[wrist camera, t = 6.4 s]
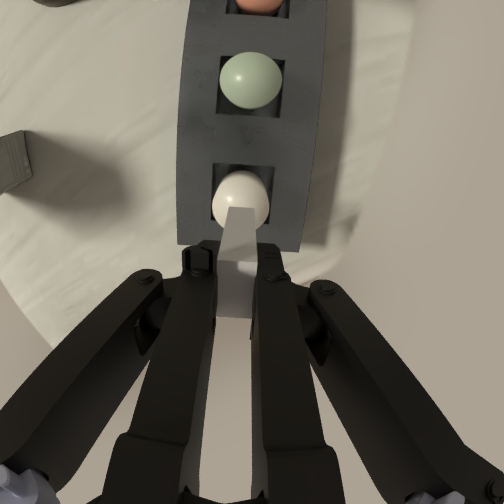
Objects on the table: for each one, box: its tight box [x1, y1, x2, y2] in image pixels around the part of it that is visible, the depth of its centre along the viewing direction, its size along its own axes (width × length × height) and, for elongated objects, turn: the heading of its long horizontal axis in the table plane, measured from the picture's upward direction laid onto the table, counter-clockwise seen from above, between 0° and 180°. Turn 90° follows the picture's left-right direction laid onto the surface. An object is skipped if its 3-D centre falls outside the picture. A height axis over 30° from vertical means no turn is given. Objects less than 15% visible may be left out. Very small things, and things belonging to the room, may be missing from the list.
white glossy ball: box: [212, 170, 269, 229], centre depth 21 cm, size 4×4×4 cm
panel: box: [176, 0, 327, 252], centre depth 20 cm, size 11×28×4 cm, turn 175°
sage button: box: [220, 52, 282, 110], centre depth 17 cm, size 4×4×4 cm
